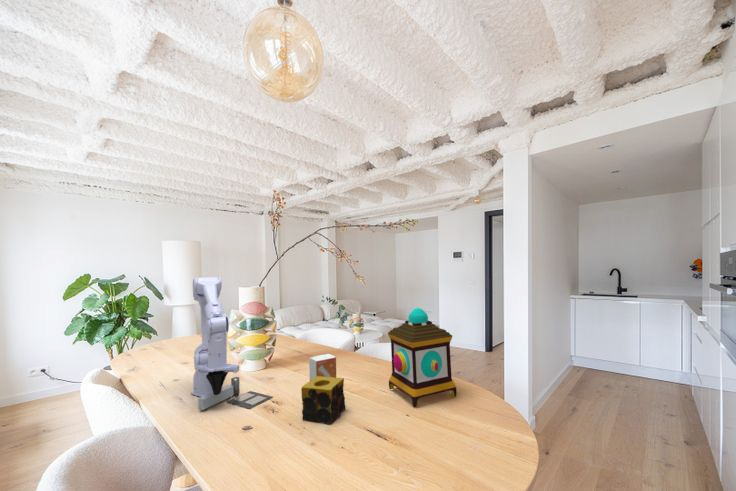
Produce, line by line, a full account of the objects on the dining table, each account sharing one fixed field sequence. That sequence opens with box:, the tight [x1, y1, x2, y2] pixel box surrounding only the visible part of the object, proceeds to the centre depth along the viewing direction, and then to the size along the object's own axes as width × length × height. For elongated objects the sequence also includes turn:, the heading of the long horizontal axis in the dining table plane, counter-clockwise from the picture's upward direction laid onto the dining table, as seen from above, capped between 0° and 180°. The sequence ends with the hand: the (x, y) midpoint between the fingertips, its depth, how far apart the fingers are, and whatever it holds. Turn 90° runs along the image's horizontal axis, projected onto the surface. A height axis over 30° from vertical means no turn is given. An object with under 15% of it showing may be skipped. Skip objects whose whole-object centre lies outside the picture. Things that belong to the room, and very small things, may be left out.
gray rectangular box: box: [197, 384, 234, 411], centre depth 105 cm, size 12×2×3 cm, turn 155°
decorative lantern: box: [387, 307, 458, 408], centre depth 109 cm, size 20×20×30 cm
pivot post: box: [230, 376, 241, 398], centre depth 113 cm, size 3×3×6 cm
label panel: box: [225, 390, 274, 410], centre depth 108 cm, size 12×10×1 cm
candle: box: [301, 376, 346, 425], centre depth 95 cm, size 10×10×10 cm
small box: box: [308, 353, 337, 381], centre depth 111 cm, size 8×6×13 cm
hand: (217, 393), depth 103 cm, fingers closed
